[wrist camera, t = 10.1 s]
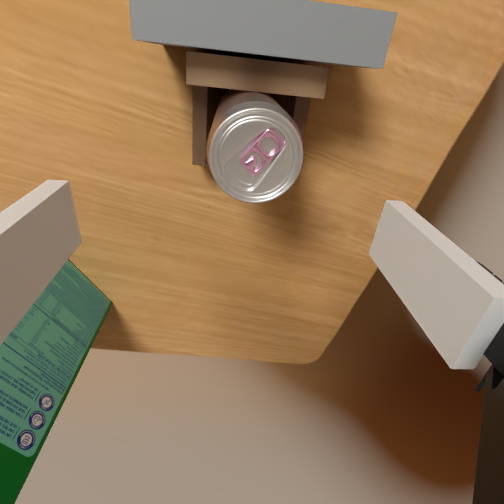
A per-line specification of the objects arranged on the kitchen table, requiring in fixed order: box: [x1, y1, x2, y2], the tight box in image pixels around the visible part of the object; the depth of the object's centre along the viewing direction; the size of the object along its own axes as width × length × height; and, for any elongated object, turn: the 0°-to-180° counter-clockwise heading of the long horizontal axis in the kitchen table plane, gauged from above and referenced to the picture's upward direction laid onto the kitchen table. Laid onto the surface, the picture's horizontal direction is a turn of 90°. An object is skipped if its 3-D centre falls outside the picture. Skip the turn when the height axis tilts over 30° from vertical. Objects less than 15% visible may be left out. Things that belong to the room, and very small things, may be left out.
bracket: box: [186, 51, 330, 166], centre depth 28 cm, size 10×9×8 cm
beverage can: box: [206, 89, 303, 203], centre depth 25 cm, size 6×6×15 cm
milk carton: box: [0, 260, 112, 504], centre depth 31 cm, size 9×9×25 cm
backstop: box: [129, 0, 397, 69], centre depth 24 cm, size 16×3×10 cm, turn 84°
